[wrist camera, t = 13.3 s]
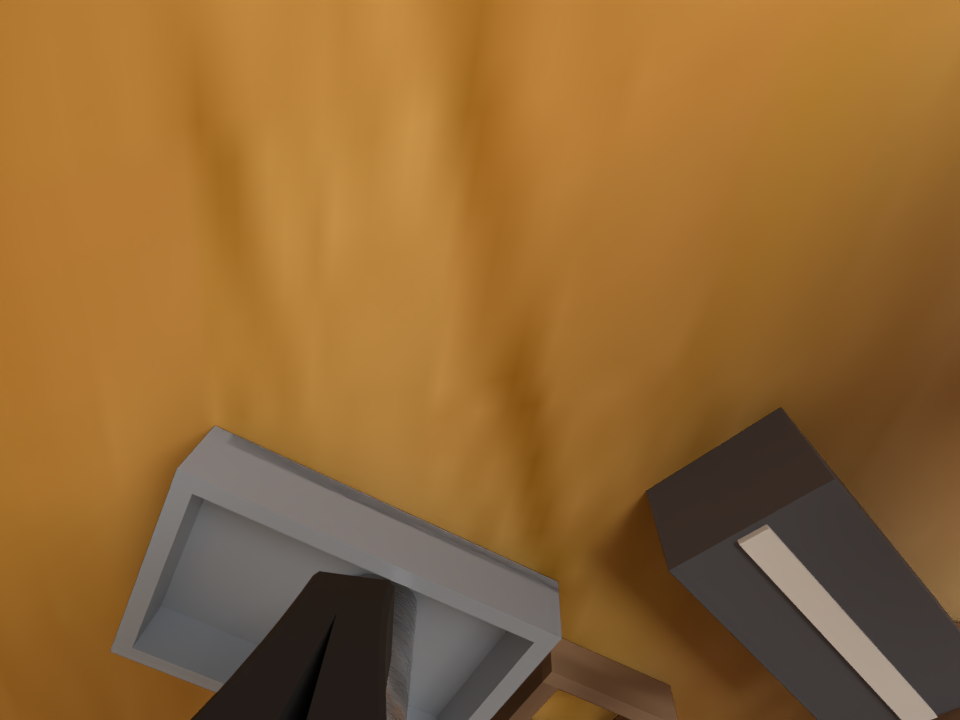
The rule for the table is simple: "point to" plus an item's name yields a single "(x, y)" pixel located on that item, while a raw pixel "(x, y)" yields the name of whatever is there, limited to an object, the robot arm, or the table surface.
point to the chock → (807, 579)
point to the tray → (328, 548)
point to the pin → (400, 651)
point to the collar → (590, 686)
